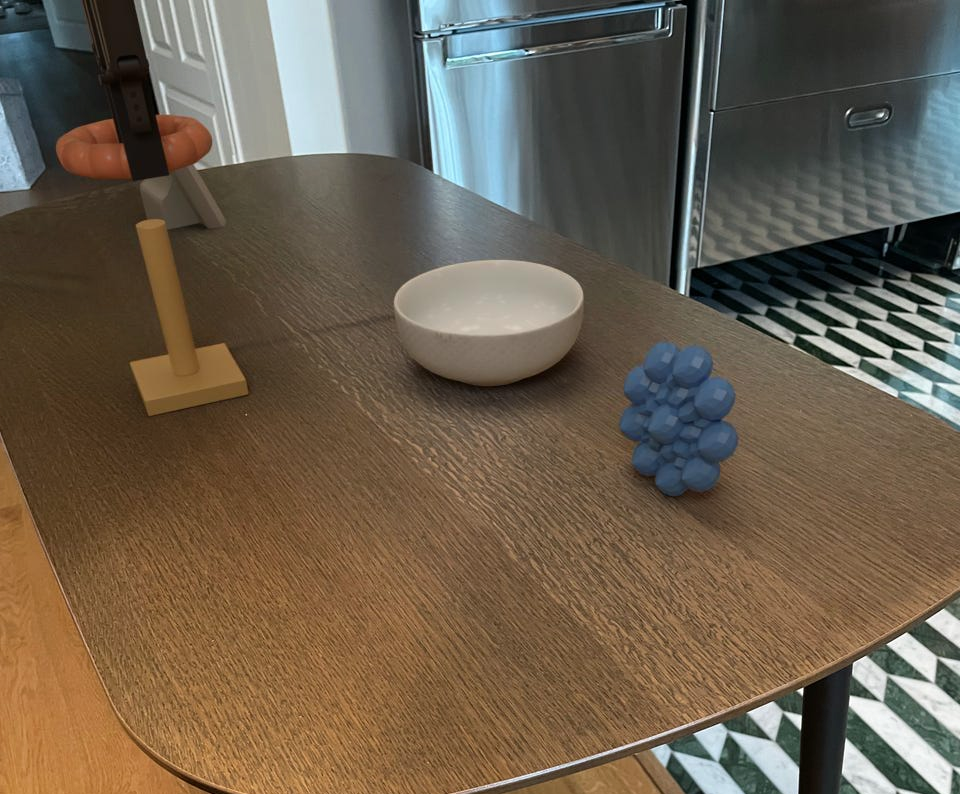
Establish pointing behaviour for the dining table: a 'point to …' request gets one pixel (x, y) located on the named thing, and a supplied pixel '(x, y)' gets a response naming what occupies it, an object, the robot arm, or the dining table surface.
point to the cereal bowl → (489, 320)
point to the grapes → (678, 418)
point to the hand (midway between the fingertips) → (146, 170)
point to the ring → (105, 157)
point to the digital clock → (180, 200)
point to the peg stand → (179, 341)
